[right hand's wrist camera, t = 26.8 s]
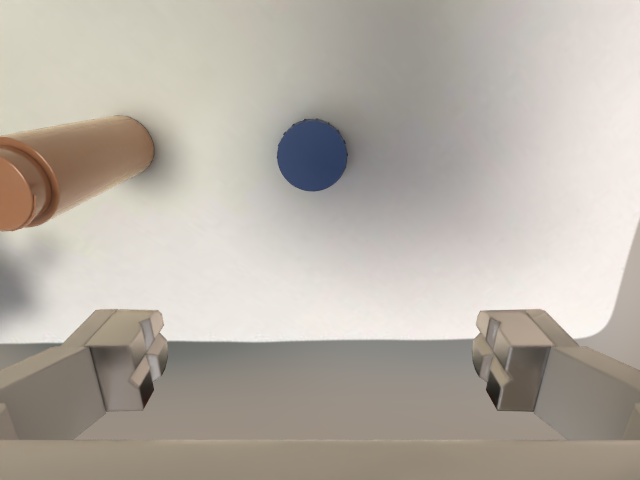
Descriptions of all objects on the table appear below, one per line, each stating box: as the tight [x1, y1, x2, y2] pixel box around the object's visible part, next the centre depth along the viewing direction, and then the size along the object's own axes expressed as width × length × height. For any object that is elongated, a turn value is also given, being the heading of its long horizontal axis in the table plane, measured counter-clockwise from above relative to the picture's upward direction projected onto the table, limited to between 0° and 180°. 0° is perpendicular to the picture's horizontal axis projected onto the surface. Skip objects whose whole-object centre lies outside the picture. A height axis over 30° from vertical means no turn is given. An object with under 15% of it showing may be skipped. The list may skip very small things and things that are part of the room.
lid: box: [277, 119, 348, 191], centre depth 34 cm, size 6×6×2 cm
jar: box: [0, 115, 154, 231], centre depth 27 cm, size 5×5×15 cm
